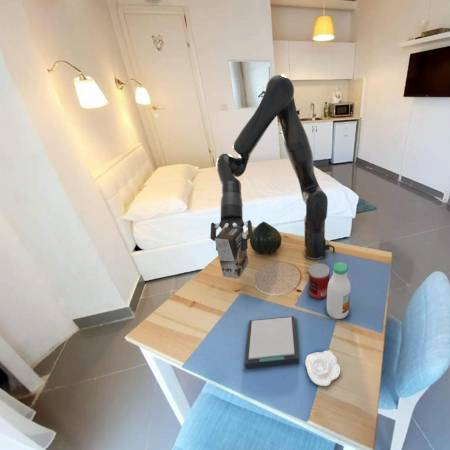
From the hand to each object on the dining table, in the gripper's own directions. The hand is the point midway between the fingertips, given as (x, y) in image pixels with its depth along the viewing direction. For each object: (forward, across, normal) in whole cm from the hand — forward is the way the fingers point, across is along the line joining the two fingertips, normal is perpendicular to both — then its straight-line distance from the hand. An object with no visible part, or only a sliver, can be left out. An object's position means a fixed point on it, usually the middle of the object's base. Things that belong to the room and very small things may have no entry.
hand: (232, 251), depth 85 cm
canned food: (+16, +30, +15) cm, 37 cm away
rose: (+37, +26, -7) cm, 46 cm away
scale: (+30, +12, 0) cm, 32 cm away
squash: (-7, +9, +37) cm, 39 cm away
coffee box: (+6, 0, +8) cm, 9 cm away
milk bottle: (+23, +35, +8) cm, 43 cm away
